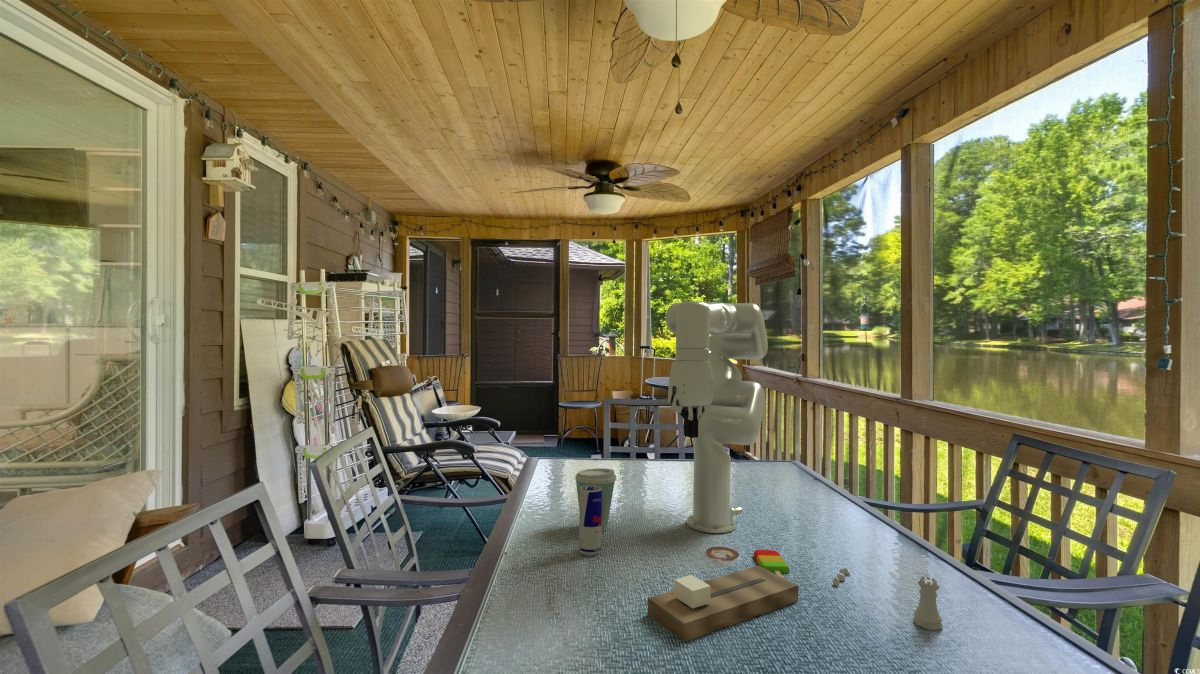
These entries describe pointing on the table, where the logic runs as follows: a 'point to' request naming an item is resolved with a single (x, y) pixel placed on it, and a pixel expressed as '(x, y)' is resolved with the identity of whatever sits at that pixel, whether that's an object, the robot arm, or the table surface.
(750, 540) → the table surface
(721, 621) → the console
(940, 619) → the rook chess piece
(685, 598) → the fader knob
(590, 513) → the beverage can
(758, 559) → the popsicle
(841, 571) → the game pieces
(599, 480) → the disposable coffee cup
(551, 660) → the table surface
